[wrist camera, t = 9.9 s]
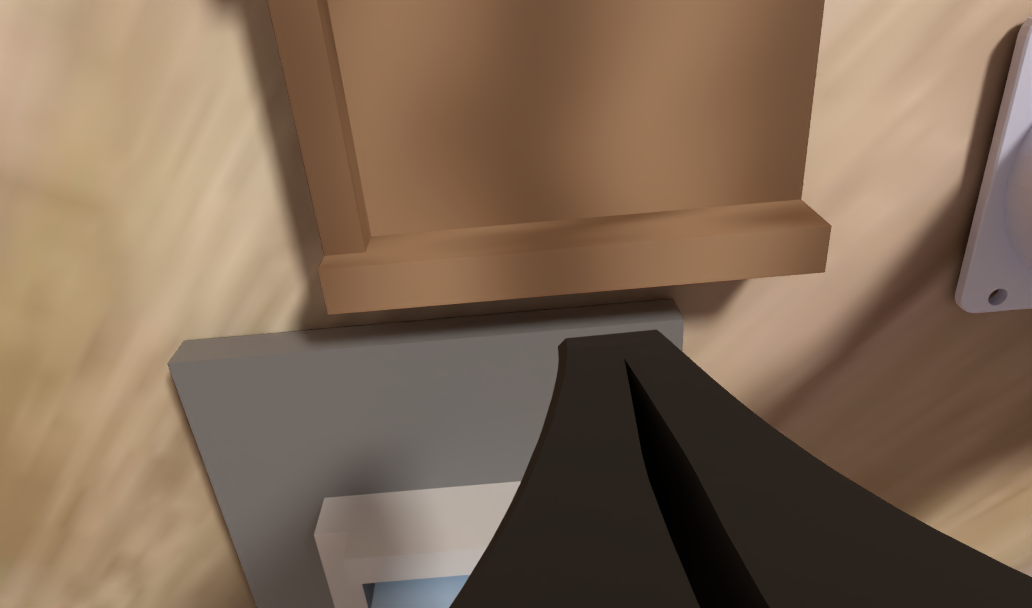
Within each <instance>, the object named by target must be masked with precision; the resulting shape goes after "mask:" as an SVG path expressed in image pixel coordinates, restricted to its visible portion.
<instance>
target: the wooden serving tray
mask: <svg viewBox="0 0 1032 608" xmlns="http://www.w3.org/2000/svg"><path fill="white" fill-rule="evenodd" d="M267 1H268V6H269V10H270V15H271V19H272V24H273V28H274V32H275V37H276V41H277V46H278V50H279V55H280V59H281V64H282V68H283V73H284V77H285V82H286V86H287V91H288V95H289V100H290V104H291V109H292V113H293V117H294V122H295V126H296V131H297V135H298V140H299V144H300V149H301V153H302V158H303V162H304V167H305V171H306V176H307V180H308V185H309V189H310V194H311V198H312V202H313V207H314V211H315V216H316V220H317V225H318V229H319V234H320V238H321V243H322V247H323V252H324V258H323V260H322V262H321V264H320V266H319V268H318V274H319V278H320V283H321V287H322V291H323V296H324V300H325V304H326V309H327V313H328V315H331V314H343V313H354V312H366V311H378V310H389V309H401V308H413V307H425V306H436V305H448V304H460V303H471V302H483V301H495V300H506V299H518V298H530V297H541V296H553V295H565V294H576V293H588V292H600V291H612V290H623V289H635V288H647V287H658V286H670V285H682V284H693V283H705V282H717V281H728V280H740V279H752V278H764V277H775V276H787V275H799V274H810V273H822V272H825V267H826V260H827V253H828V246H829V239H830V232H831V225H830V224H829V223H828V222H826V221H825V220H824V219H823V218H822V217H821V216H820V215H818V214H817V213H816V212H815V211H814V210H813V209H811V208H810V207H809V206H808V205H807V204H806V203H805V202H803V201H802V200H801V196H802V188H803V179H804V171H805V162H806V154H807V145H808V137H809V128H810V120H811V112H812V103H813V95H814V86H815V78H816V69H817V61H818V52H819V44H820V35H821V27H822V19H823V10H824V2H825V0H267Z"/></svg>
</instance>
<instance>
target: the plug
mask: <svg viewBox="0 0 1032 608" xmlns="http://www.w3.org/2000/svg"><path fill="white" fill-rule="evenodd" d="M469 576H470V575H460V576H449V577H437V578H425V579H413V580H401V581H389V582H377V583H375V588H374V594H373V600H372V606H371V608H449V607H450V606H451V604H452V603H453V601H454V599H455V598H456V596H457V595H458V593H459V592H460V590H461V589H462V587H463V586H464V584H465V582H466V581H467V579H468V578H469Z"/></svg>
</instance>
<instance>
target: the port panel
mask: <svg viewBox="0 0 1032 608" xmlns="http://www.w3.org/2000/svg"><path fill="white" fill-rule="evenodd" d="M683 320H684V319H683V317H682V315H681V313H680V311H679V309H678V307H677V305H676V303H675V301H674V299H666V300H654V301H642V302H631V303H619V304H607V305H596V306H584V307H572V308H560V309H549V310H537V311H525V312H514V313H502V314H490V315H479V316H467V317H455V318H443V319H432V320H420V321H408V322H397V323H385V324H373V325H362V326H350V327H338V328H326V329H315V330H303V331H291V332H280V333H268V334H256V335H245V336H233V337H221V338H209V339H198V340H186V341H183V343H182V344H181V346H180V347H179V348H178V350H177V351H176V352H175V354H174V355H173V357H172V358H171V359H170V361H169V362H168V363H167V364H168V366H169V369H170V372H171V375H172V377H173V380H174V383H175V386H176V388H177V391H178V394H179V396H180V399H181V402H182V405H183V407H184V410H185V413H186V416H187V418H188V421H189V424H190V426H191V429H192V432H193V435H194V437H195V440H196V443H197V446H198V448H199V451H200V454H201V457H202V459H203V462H204V465H205V467H206V470H207V473H208V476H209V478H210V481H211V484H212V487H213V489H214V492H215V495H216V497H217V500H218V503H219V506H220V508H221V511H222V514H223V517H224V519H225V522H226V525H227V527H228V530H229V533H230V536H231V538H232V541H233V544H234V547H235V549H236V552H237V555H238V557H239V560H240V563H241V566H242V568H243V571H244V574H245V577H246V579H247V582H248V585H249V588H250V590H251V593H252V596H253V598H254V601H255V604H256V607H257V608H371V606H372V600H373V594H374V588H375V583H377V582H389V581H401V580H413V579H425V578H437V577H449V576H460V575H470V574H471V573H472V571H473V569H474V568H475V566H476V565H477V563H478V561H479V560H480V558H481V556H482V555H483V553H484V552H485V550H486V548H487V547H488V545H489V543H490V541H491V540H492V538H493V536H494V534H495V532H496V530H497V528H498V527H499V525H500V523H501V521H502V519H503V517H504V516H505V514H506V512H507V510H508V508H509V506H510V504H511V502H512V500H513V498H514V495H515V493H516V491H517V489H518V487H519V485H520V483H521V481H522V478H523V476H524V473H525V471H526V468H527V466H528V464H529V461H530V459H531V456H532V454H533V451H534V449H535V447H536V444H537V442H538V439H539V436H540V434H541V431H542V428H543V425H544V421H545V418H546V415H547V412H548V408H549V405H550V402H551V399H552V395H553V391H554V386H555V382H556V377H557V371H558V362H559V357H558V346H559V345H560V344H561V343H562V342H563V341H564V340H565V339H566V338H573V337H584V336H594V335H604V334H615V333H625V332H636V331H646V330H656V329H657V330H658V331H659V332H661V333H662V334H663V335H664V336H665V337H666V338H668V339H669V340H670V341H671V342H672V343H673V344H674V345H675V346H677V347H678V348H679V349H680V350H681V351H682V345H683Z"/></svg>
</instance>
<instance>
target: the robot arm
mask: <svg viewBox="0 0 1032 608" xmlns="http://www.w3.org/2000/svg"><path fill="white" fill-rule="evenodd" d="M997 289H998V292H997V293H996V295H994V296H993V297H992V298H989V296H990V294H991V293H992V292H993V291H995V290H997ZM988 298H989V299H988ZM955 301H956V303H957V305H958V306H959V307H961V308H962V309H963V310H965V311H966V312H968V313H985V312H997V311H1009V310H1020V309H1032V16H1030V17H1029V18H1028V19H1027V20H1026V21H1025V22H1024V23H1023V25H1022V26H1021V28H1020V31H1019V33H1018V36H1017V40H1016V44H1015V49H1014V53H1013V57H1012V61H1011V65H1010V69H1009V73H1008V78H1007V82H1006V86H1005V90H1004V94H1003V98H1002V102H1001V106H1000V111H999V115H998V119H997V123H996V127H995V131H994V135H993V140H992V144H991V148H990V152H989V156H988V160H987V164H986V169H985V173H984V177H983V181H982V185H981V189H980V193H979V197H978V202H977V206H976V210H975V214H974V218H973V222H972V226H971V231H970V235H969V239H968V243H967V247H966V251H965V255H964V259H963V264H962V268H961V272H960V276H959V280H958V284H957V288H956V293H955ZM558 357H559V362H558V371H557V377H556V382H555V386H554V391H553V395H552V399H551V402H550V405H549V408H548V412H547V415H546V418H545V421H544V425H543V428H542V431H541V434H540V436H539V439H538V442H537V444H536V447H535V449H534V451H533V454H532V456H531V459H530V461H529V464H528V466H527V468H526V471H525V473H524V476H523V478H522V481H521V483H520V485H519V487H518V489H517V491H516V493H515V495H514V498H513V500H512V502H511V504H510V506H509V508H508V510H507V512H506V514H505V516H504V517H503V519H502V521H501V523H500V525H499V527H498V528H497V530H496V532H495V534H494V536H493V538H492V540H491V541H490V543H489V545H488V547H487V548H486V550H485V552H484V553H483V555H482V556H481V558H480V560H479V561H478V563H477V565H476V566H475V568H474V569H473V571H472V573H471V574H470V576H469V578H468V579H467V581H466V582H465V584H464V586H463V587H462V589H461V590H460V592H459V593H458V595H457V596H456V598H455V599H454V601H453V603H452V604H451V606H450V607H449V608H1032V577H1030V576H1028V575H1026V574H1024V573H1022V572H1019V571H1017V570H1015V569H1013V568H1011V567H1009V566H1007V565H1005V564H1003V563H1001V562H999V561H997V560H995V559H993V558H991V557H989V556H987V555H985V554H983V553H981V552H979V551H977V550H975V549H973V548H971V547H969V546H967V545H965V544H963V543H961V542H959V541H957V540H955V539H953V538H952V537H950V536H948V535H946V534H944V533H942V532H940V531H938V530H936V529H934V528H932V527H930V526H928V525H927V524H925V523H923V522H921V521H919V520H918V519H916V518H914V517H912V516H910V515H908V514H907V513H905V512H903V511H901V510H899V509H898V508H896V507H894V506H893V505H891V504H889V503H888V502H886V501H884V500H883V499H881V498H879V497H878V496H876V495H874V494H873V493H871V492H869V491H868V490H866V489H864V488H863V487H861V486H859V485H858V484H856V483H854V482H853V481H851V480H849V479H848V478H846V477H844V476H843V475H841V474H840V473H838V472H837V471H835V470H833V469H832V468H830V467H829V466H827V465H826V464H824V463H823V462H821V461H820V460H818V459H817V458H815V457H814V456H812V455H811V454H810V453H808V452H807V451H805V450H804V449H803V448H801V447H800V446H798V445H797V444H795V443H794V442H793V441H791V440H790V439H788V438H787V437H786V436H784V435H783V434H781V433H780V432H779V431H777V430H776V429H774V428H773V427H772V426H770V425H769V424H768V423H766V422H765V421H764V420H763V419H761V418H760V417H759V416H757V415H756V414H755V413H754V412H752V411H751V410H750V409H749V408H747V407H746V406H745V405H744V404H742V403H741V402H740V401H739V400H737V399H736V398H735V397H734V396H733V395H731V394H730V393H729V392H728V391H726V390H725V389H724V388H723V387H722V386H721V385H719V384H718V383H717V382H716V381H715V380H714V379H712V378H711V377H710V376H709V375H708V374H707V373H706V372H704V371H703V370H702V369H701V368H700V367H699V366H698V365H697V364H695V363H694V362H693V361H692V360H691V359H690V358H689V357H688V356H687V355H685V354H684V353H683V352H682V351H681V350H680V349H679V348H678V347H677V346H675V345H674V344H673V343H672V342H671V341H670V340H669V339H668V338H666V337H665V336H664V335H663V334H662V333H661V332H659V331H658V330H657V329H656V330H646V331H636V332H625V333H615V334H604V335H594V336H584V337H573V338H566V339H565V340H564V341H563V342H562V343H561V344H560V345H559V346H558Z"/></svg>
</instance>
